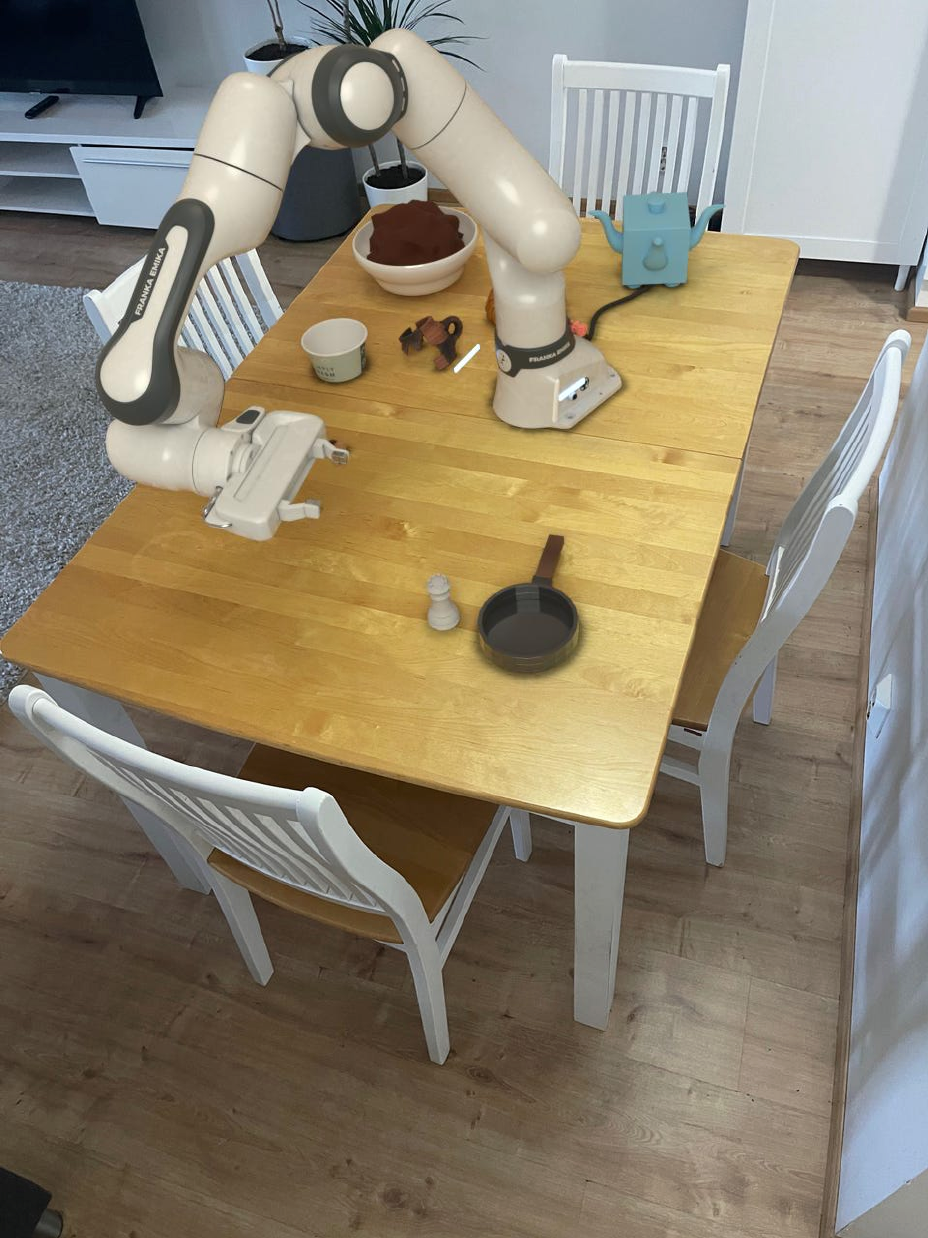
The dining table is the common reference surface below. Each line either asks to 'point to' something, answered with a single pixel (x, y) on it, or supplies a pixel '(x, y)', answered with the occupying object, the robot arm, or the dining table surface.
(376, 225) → the white bowl
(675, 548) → the dining table surface
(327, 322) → the food container
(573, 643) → the pan
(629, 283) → the teakettle
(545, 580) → the pan handle
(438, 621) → the rook chess piece
